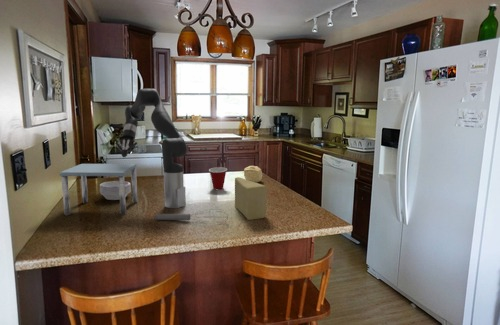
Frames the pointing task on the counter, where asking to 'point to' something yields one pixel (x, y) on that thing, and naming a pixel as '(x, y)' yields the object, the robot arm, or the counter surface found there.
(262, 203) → the beige rectangular block
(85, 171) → the small side table
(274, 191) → the counter surface
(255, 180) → the beige textured ball
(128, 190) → the paper bowls
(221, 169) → the plastic cup
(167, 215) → the kitchen whisk
